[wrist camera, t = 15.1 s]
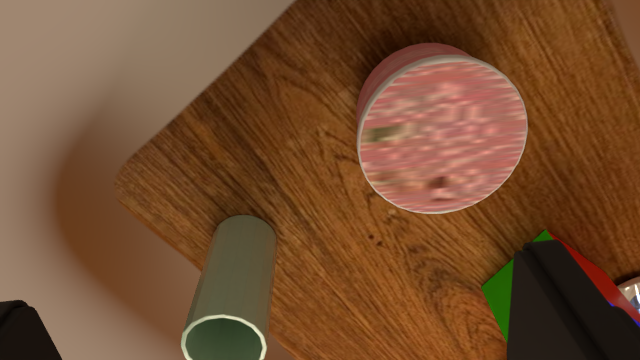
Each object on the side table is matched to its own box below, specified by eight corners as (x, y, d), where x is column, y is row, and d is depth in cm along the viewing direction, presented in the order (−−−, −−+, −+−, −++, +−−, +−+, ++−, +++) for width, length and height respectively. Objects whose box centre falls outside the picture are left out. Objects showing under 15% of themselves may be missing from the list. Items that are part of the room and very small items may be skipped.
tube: (206, 218, 42) (171, 320, 31) (270, 211, 41) (257, 310, 31) (220, 270, 44) (192, 379, 34) (281, 263, 44) (272, 371, 33)
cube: (603, 271, 45) (658, 336, 38) (538, 323, 48) (577, 392, 41) (545, 229, 43) (592, 290, 36) (480, 287, 46) (512, 354, 39)
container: (342, 38, 35) (350, 68, 28) (490, 21, 34) (537, 47, 27) (354, 169, 40) (363, 222, 33) (483, 154, 39) (521, 206, 32)
